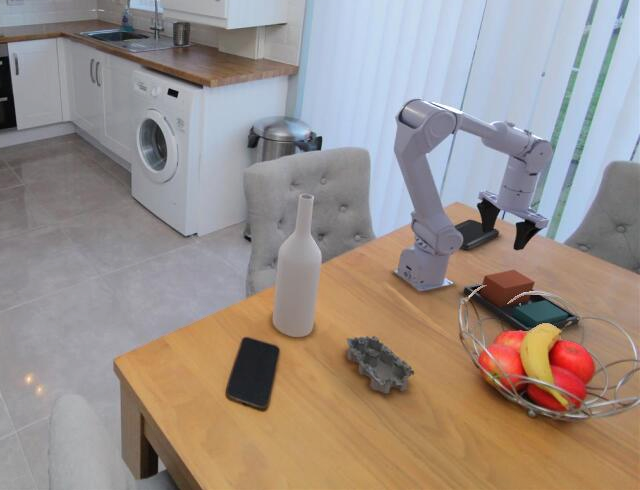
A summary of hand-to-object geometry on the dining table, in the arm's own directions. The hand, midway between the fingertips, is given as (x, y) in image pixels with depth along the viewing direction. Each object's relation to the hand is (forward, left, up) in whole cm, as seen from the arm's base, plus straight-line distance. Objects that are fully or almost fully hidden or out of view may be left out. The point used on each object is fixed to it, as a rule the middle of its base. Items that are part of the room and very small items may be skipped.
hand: (502, 240), depth 110 cm
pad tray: (-6, -11, -9) cm, 16 cm away
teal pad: (-6, -15, -9) cm, 19 cm away
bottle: (-54, -2, -10) cm, 55 cm away
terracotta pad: (-6, -8, -9) cm, 13 cm away
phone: (+9, +15, -9) cm, 20 cm away
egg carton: (-46, -17, -10) cm, 50 cm away
